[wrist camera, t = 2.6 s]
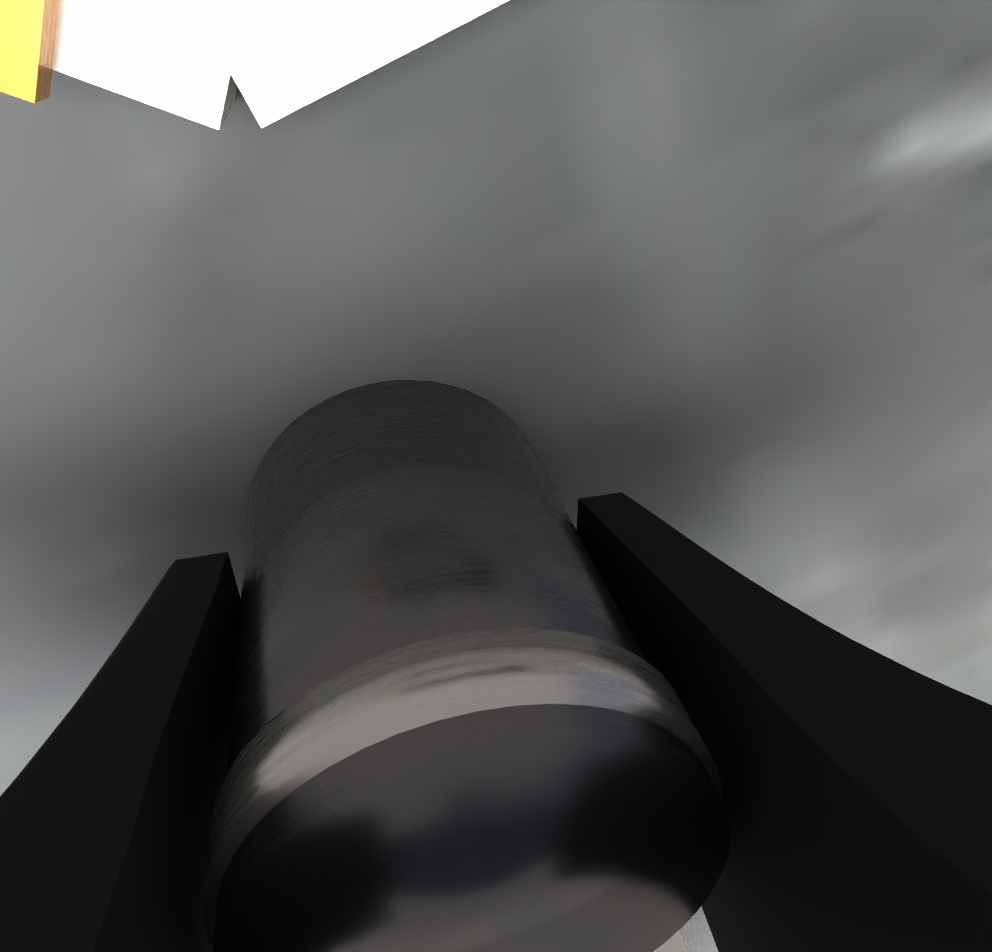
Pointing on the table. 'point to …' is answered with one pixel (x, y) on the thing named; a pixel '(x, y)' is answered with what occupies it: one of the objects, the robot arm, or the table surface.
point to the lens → (444, 707)
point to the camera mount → (216, 48)
